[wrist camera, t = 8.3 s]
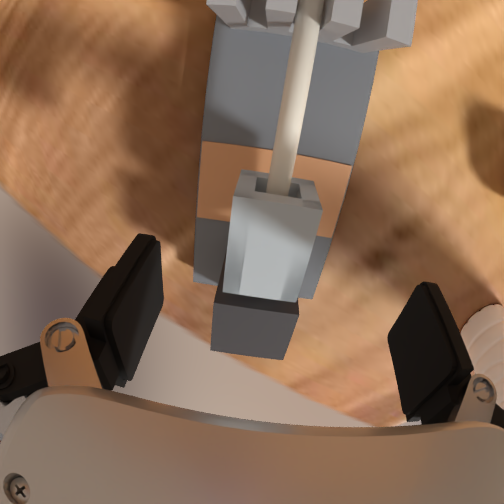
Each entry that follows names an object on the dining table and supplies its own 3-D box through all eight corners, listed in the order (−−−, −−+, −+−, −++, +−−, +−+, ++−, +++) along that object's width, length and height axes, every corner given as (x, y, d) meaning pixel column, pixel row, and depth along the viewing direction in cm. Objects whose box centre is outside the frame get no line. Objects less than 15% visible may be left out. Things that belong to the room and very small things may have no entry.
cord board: (225, -8, 13) (192, -56, 6) (376, 20, 13) (439, -3, 6) (197, 269, 24) (171, 349, 17) (310, 286, 24) (319, 369, 17)
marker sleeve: (241, 169, 15) (233, 195, 12) (313, 181, 15) (323, 210, 12) (231, 252, 17) (222, 292, 15) (293, 262, 18) (296, 302, 15)
